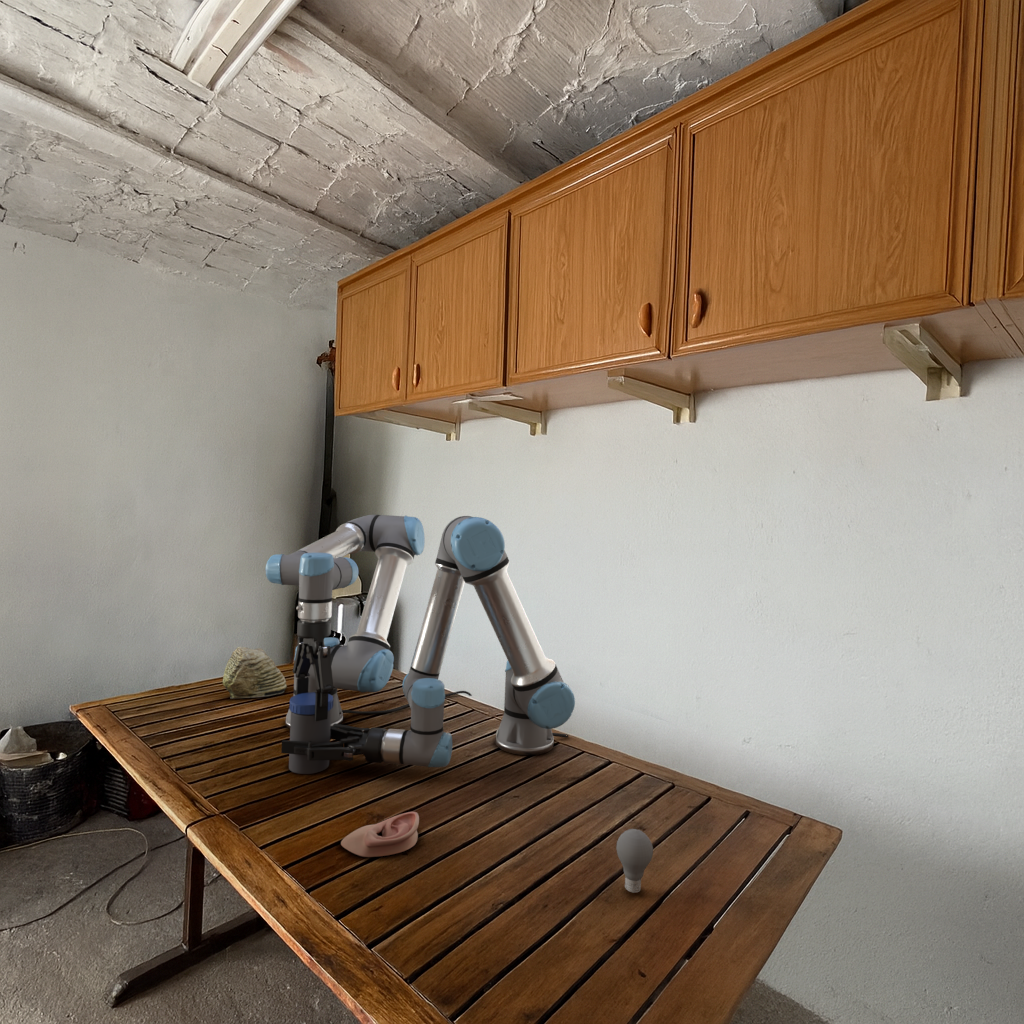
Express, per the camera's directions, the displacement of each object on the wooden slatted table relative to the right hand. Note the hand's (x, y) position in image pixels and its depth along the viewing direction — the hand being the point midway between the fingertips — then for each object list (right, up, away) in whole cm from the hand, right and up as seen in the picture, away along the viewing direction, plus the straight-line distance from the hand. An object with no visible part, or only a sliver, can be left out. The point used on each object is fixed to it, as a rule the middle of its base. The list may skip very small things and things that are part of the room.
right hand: (291, 738), depth 149 cm
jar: (+4, -6, 0) cm, 8 cm away
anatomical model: (+27, -8, -32) cm, 43 cm away
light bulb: (+72, -10, -43) cm, 85 cm away
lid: (+5, +9, -1) cm, 11 cm away
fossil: (-29, -4, +49) cm, 57 cm away
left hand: (+5, +6, 0) cm, 8 cm away
